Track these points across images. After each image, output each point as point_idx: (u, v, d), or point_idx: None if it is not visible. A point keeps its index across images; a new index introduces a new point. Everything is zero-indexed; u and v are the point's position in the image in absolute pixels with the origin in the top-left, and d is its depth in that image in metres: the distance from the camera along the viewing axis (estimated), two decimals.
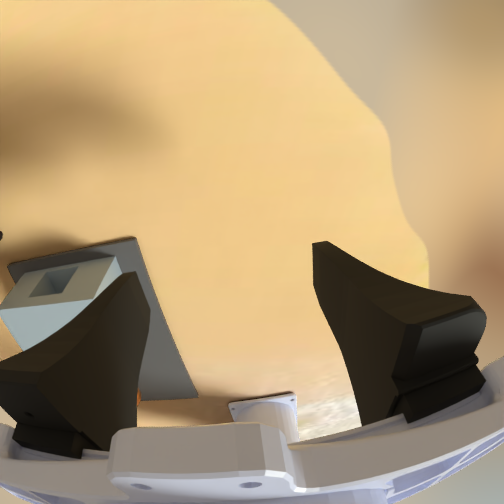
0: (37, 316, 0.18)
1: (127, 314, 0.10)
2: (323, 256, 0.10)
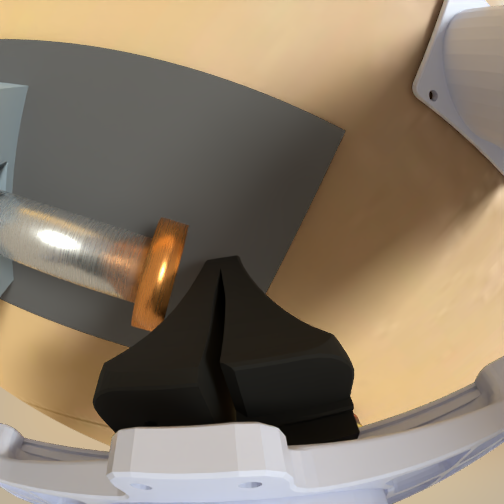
0: None
1: (223, 302, 0.10)
2: (221, 272, 0.10)
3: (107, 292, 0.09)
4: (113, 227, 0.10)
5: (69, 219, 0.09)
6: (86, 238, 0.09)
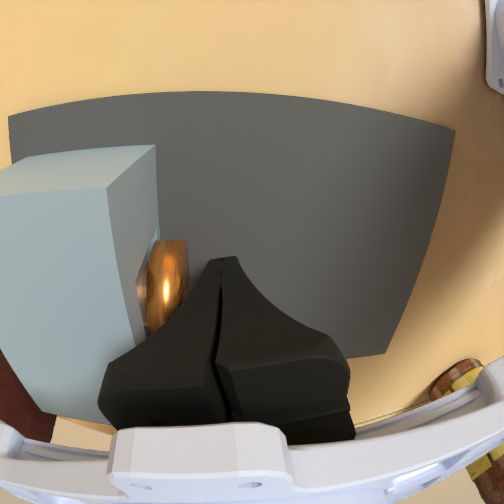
0: (14, 348, 0.08)
1: None
2: None
3: None
4: None
5: None
6: None
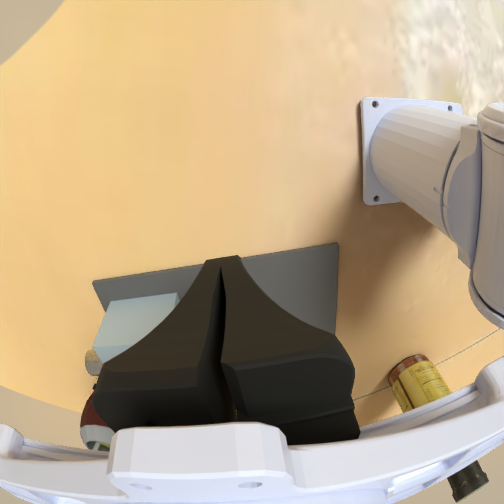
0: None
1: (223, 302, 0.10)
2: (221, 272, 0.10)
3: None
4: None
5: None
6: None
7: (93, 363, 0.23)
